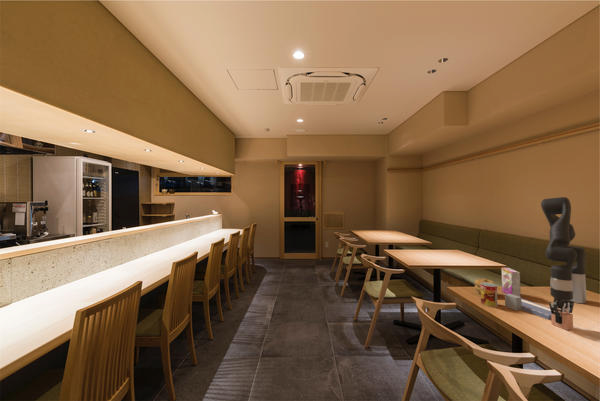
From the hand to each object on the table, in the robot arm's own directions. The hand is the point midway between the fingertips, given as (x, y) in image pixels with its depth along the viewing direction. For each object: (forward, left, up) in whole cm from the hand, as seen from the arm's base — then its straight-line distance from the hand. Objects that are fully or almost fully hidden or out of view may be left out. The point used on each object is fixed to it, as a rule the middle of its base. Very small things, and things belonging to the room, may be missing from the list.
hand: (561, 322), depth 119 cm
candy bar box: (-20, -37, -2) cm, 42 cm away
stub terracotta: (0, 0, -2) cm, 2 cm away
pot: (-6, -43, -2) cm, 43 cm away
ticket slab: (-8, -17, -2) cm, 19 cm away
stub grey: (0, -22, -2) cm, 22 cm away
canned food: (+8, -30, -2) cm, 31 cm away
